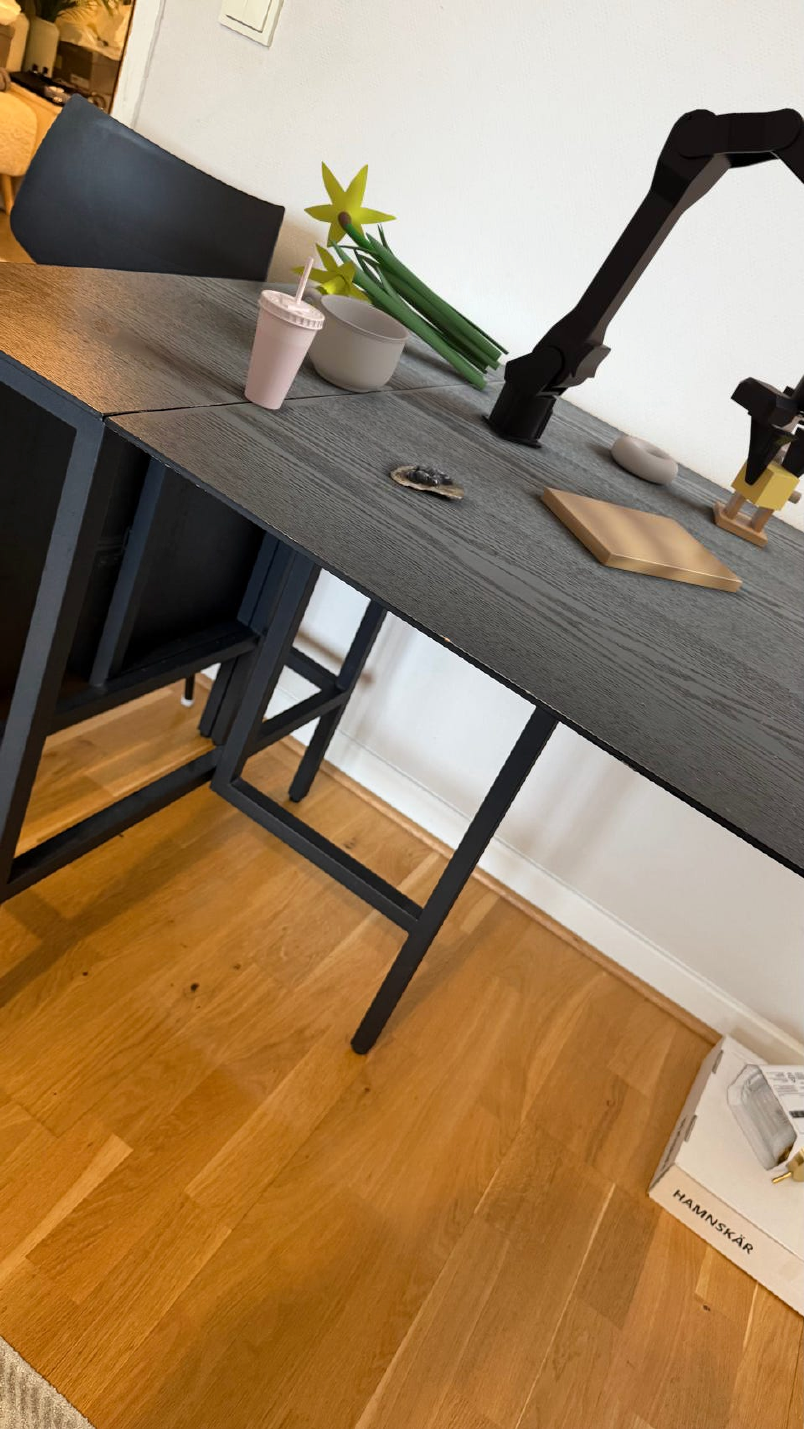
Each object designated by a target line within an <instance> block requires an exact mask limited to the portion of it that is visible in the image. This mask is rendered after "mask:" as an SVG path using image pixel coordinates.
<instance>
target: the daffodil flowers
mask: <svg viewBox="0 0 804 1429" xmlns="http://www.w3.org/2000/svg"><path fill="white" fill-rule="evenodd" d="M368 170H369V165H368V164H367V163H366V164H365V165H363V167H361V168H360V170H359V171H358V172H357V174H356V175H355V176H354V178H353V179H352V180H351V181H350V183H349V185H348V186H347V188H346V190H345V189H344V188H343V187H342V185H341V183H340V182H339V181H338V179H337V178H336V177H335V175H334V174H333V172H332V171H331V170H330V168H329V167H328V166H327V165H326V163H325V162H324V161H321V177H322V180H323V185H324V188H325V191H326V193H327V196H328V197H329V199H330V202H331V203H328V204H326V203H325V204H319V205H314V206H309V207H306V208H303V211H304V212H305V213H307V215H309V216H310V217H311V218H313V219H315V220H317V221H319V222H322V223H329V224H330V226H329V229H328V235H327V240H326V248H327V249H330V248H334V251H335V253H336V255H337V256H338V257H339V259H340V260H341V261H342V264H340V265H338V263H337V262H336V260H335V258H334V256H333V255H332V254H331V253H330V251H328V250H327V249H326V248H324V247H323V246H321V245H320V244H318V243H317V242H315V243H314V244H315V248H316V251H317V253H318V256H319V257H320V260H321V262H322V264H323V267H324V269H325V270H323V269H319V268H316V267H311V270H310V273H309V276H308V279H309V280H311V281H313V282H316V283H318V284H320V285H317V286H315V288H314V289H316V290H317V291H319V292H320V293H321V295H322V296H323V295H329V294H331V295H340V296H345V297H349V298H350V297H351V298H353V299H356V300H359V301H362V302H367V304H369V305H370V306H372V307H374V308H376V309H379V310H381V311H382V312H384V313H386V314H388V315H389V316H391V317H392V318H394V319H395V320H397V321H398V322H399V323H401V324H402V325H403V326H404V327H405V328H406V329H407V330H409V331H411V332H412V333H413V334H415V336H417V337H418V338H419V339H420V340H422V341H423V342H424V343H425V344H426V345H427V346H429V347H430V348H431V349H432V350H433V351H435V352H436V353H437V354H438V355H439V356H440V357H442V358H443V359H444V360H445V361H446V362H447V363H449V364H450V365H451V366H452V367H453V368H455V370H457V371H458V372H459V373H460V374H461V375H462V376H463V377H464V378H466V379H467V380H468V381H469V382H470V383H472V384H473V385H474V386H475V387H476V388H478V389H479V391H480V392H483V390H484V389H485V387H486V386H487V384H488V382H487V381H486V380H484V376H483V375H487V374H488V372H489V371H488V370H487V368H488V367H490V368H491V369H492V370H494V372H495V371H497V370H498V368H499V367H500V365H501V363H500V362H499V359H500V358H501V356H502V355H503V354H504V355H505V356H507V355H509V354H510V351H508V350H507V349H506V348H505V347H504V346H502V345H501V344H500V343H499V342H498V341H496V340H495V339H494V338H492V337H491V336H490V335H489V334H488V333H486V332H485V331H484V330H483V329H481V328H480V327H479V325H477V324H475V323H474V322H473V321H471V320H470V319H469V318H467V317H466V316H465V315H464V314H462V312H460V311H459V310H458V309H456V308H455V307H454V306H452V305H451V304H449V303H448V302H447V301H446V300H445V299H443V298H442V297H440V296H439V295H438V294H437V293H436V292H434V291H433V290H432V289H431V288H430V287H429V286H427V284H425V282H423V281H422V280H421V279H420V278H419V277H418V276H417V275H416V274H415V273H414V272H412V271H411V270H410V269H409V268H408V267H407V266H406V265H405V264H404V263H403V262H402V261H401V260H399V259H398V258H397V257H396V255H395V254H394V252H393V251H392V249H391V248H390V246H389V244H388V242H387V240H386V236H385V233H384V232H385V231H384V229H383V226H382V223H386V222H391V221H396V220H397V217H396V216H394V215H393V214H387V213H384V212H381V211H379V210H375V209H371V208H368V207H366V206H365V207H363V206H362V204H363V201H364V197H365V191H366V186H367V180H368ZM371 224H376V225H377V229H378V230H377V231H378V233H379V234H378V235H379V238H380V241H381V242H380V241H379V240H377V239H376V238H375V237H374V236H372V235H371V234H370V233H368V232H364V229H363V226H362V225H371ZM379 224H380V225H379ZM346 235H347V237H349V238H350V239H351V241H353V243H355V244H356V246H354V245H346V244H342V245H341V244H340V245H339V243H341V241H342V240H343V239H344V238H345V237H346ZM366 237H367V238H366ZM343 249H349V250H352V251H353V253H354V256H355V258H356V261H357V262H358V264H357V263H355V262H354V260H352V258H351V257H350V256H349V255H348V254H347V252H345V251H344V250H343ZM358 251H359V252H363V253H364V254H366V255H369V256H370V257H371V258H370V257H368V256H366V255H364V254H361V253H359V252H358ZM369 266H370V267H371V268H373V270H374V271H375V273H376V274H377V276H378V277H379V278H378V277H377V276H376V275H375V273H374V272H373V270H371V268H370V267H369ZM289 269H290V271H292V272H293V273H295V274H297V275H299V276H300V277H302V275H303V272H304V269H305V266H302V265H301V266H296V267H291V268H289ZM308 279H307V280H308ZM311 306H313V307H314V308H316V306H315V302H314V300H313V301H312V305H311ZM410 306H411V307H410ZM412 308H413V309H412ZM418 313H419V314H420V315H419V314H418ZM479 371H480V372H481V373H482V374H483V375H482V374H481V373H480V372H479Z"/></svg>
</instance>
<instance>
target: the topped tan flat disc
mask: <svg viewBox="0 0 804 1429" xmlns="http://www.w3.org/2000/svg"><path fill="white" fill-rule="evenodd" d="M390 477H391V478H392V479H393V480H394V481H396V483H398V484H401V485H403V486H407V487H408V486H410V487H411V488H413V489H417V490H419V491H421V490H422V491H425V490H427V491H432V492H435V493H437V494H440V495H444V496H446V497H447V498H448V499H449V498H450V499H451V500H455V501H461V500H462V499H463V498H464V494H465V493H466V490H465V488H464V487H461V486H462V485H460V484H459V482H456V481H454V478H453V476H451V475H449V474H446V473H445V472H443V471H442V470H440V469H436V467H435V466H434V465H428V466H426V464H417V465H405V466H404V465H401V466H397V467H396V469H394V470H393V471H390Z"/></svg>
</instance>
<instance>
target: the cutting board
mask: <svg viewBox="0 0 804 1429" xmlns="http://www.w3.org/2000/svg"><path fill="white" fill-rule="evenodd" d="M540 500H541V501H542V502H543V503H544V504H545V505H546V507H548V508H549V509H550V511H551V512H552V513H553V514H554V515H555V516H556V517H557V518H558V519H559V520H560V522H562V523H563V524H564V526H566V528H567V529H569V530H570V532H571V533H572V534H573V535H574V536H575V537H576V538H577V539H578V540H579V541H580V542H581V543H582V544H583V545H584V546H585V548H586V549H588V551H589V552H590V553H591V554H592V555H593V556H594V557H595V558H596V559H597V560H598V562H600V563H601V565H602V566H603V567H604V566H605V567H608V568H615V569H619V570H624V571H628V572H634V573H638V574H643V575H647V576H651V577H656V578H657V577H658V578H661V579H667V580H671V581H677V582H680V583H686V584H691V585H696V586H700V587H705V588H710V589H713V590H714V589H715V590H718V591H719V590H720V591H725V592H730V593H734V594H736V593H737V592H738V590H739V589H740V587H741V585H742V584H743V581H742V579H740V578H739V577H738V576H737V575H736V574H735V573H734V572H732V571H731V570H730V569H729V568H728V567H727V566H726V565H725V564H724V563H722V562H721V561H720V560H719V559H718V558H717V556H715V555H713V554H712V553H711V552H710V551H709V550H708V549H707V548H705V546H703V544H702V543H700V542H699V541H698V540H697V539H696V538H695V537H694V536H692V535H691V534H690V533H689V532H688V531H687V530H686V529H684V527H682V526H681V525H680V524H679V523H678V522H677V521H676V520H674V519H673V518H669V517H666V516H662V515H659V514H658V515H657V514H653V513H650V512H645V511H643V510H642V511H641V510H638V509H634V508H631V507H626V506H623V505H619V504H615V503H610V502H607V501H603V500H599V499H595V498H592V497H586V496H583V495H579V494H575V493H571V492H569V491H564V490H560V489H555V488H551V487H548V486H546V487H545V488H544V490H543V492H542V494H541V496H540Z"/></svg>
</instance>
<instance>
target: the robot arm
mask: <svg viewBox="0 0 804 1429" xmlns="http://www.w3.org/2000/svg"><path fill="white" fill-rule="evenodd" d="M777 160H778V161H779V160H780V161H781V162H782V163H783V164H784V165H785V166H786V167H787V168H788V169H789V170H790V172H791V173H793V175H794V176H795V177H796V178H797V179H798V180H799V181H800V183H801V184H803V185H804V117H803V115H802V114H801V113H800V112H799V111H797V110H796V109H794V108H788V107H785V108H781V109H777V110H769V111H752V112H750V111H749V112H748V111H747V112H727V113H720V114H716V113H715V112H714V111H711V110H708V109H706V108H696V109H694V110H690V111H688V112H685V113H683V114H682V115H681V116H679V117H678V118H677V120H676V121H675V122H674V124H673V125H672V127H671V129H670V131H669V133H668V135H667V138H666V140H665V142H664V144H663V147H662V149H661V150H660V153H659V156H658V158H657V160H656V164H655V168H654V172H653V176H652V179H651V183H650V187H649V189H648V191H647V194H646V195H645V197H644V199H643V200H642V201H641V203H640V204H639V206H638V208H637V209H636V211H635V212H634V214H633V216H632V217H631V219H630V220H629V222H628V223H627V224H626V226H625V228H624V230H623V231H622V233H621V234H620V236H619V237H618V239H617V241H616V242H615V244H614V246H613V247H612V248H611V250H610V251H609V253H608V255H607V257H606V258H605V260H604V261H603V262H602V264H601V266H599V269H598V270H597V272H596V274H595V275H594V277H593V278H592V280H591V281H590V283H589V284H588V286H587V288H586V289H585V290H584V293H583V294H582V295H581V297H580V298H579V300H578V302H577V303H576V305H575V306H574V307H573V308H572V309H571V310H570V311H569V312H568V313H567V314H565V315H564V316H562V317H561V318H560V319H559V320H558V321H557V322H556V323H554V324H553V325H552V326H551V327H550V328H549V329H548V330H547V332H546V333H545V334H544V335H543V336H542V338H541V339H540V340H538V342H537V343H536V344H535V345H534V347H533V348H532V350H531V352H529V353H526V354H523V355H520V356H518V357H516V358H513V359H510V360H507V362H505V366H504V374H503V380H504V381H505V382H504V384H503V386H502V388H501V390H500V393H499V394H498V397H497V398H496V402H495V404H494V405H493V408H492V410H491V412H490V414H487V413H482V415H481V418H482V419H483V420H484V421H485V422H486V424H488V426H490V427H491V428H492V429H493V430H494V432H496V434H497V435H499V436H500V437H501V438H502V439H505V440H508V441H512V442H515V443H518V444H523V445H525V446H529V447H532V448H533V447H534V448H537V449H542V448H543V444H542V443H541V442H540V441H539V440H540V439H541V437H542V435H543V433H544V432H545V430H546V428H547V425H548V423H549V421H550V420H551V417H552V416H553V414H554V409H553V408H554V407H555V405H556V403H557V401H558V399H557V398H556V397H561V396H563V394H565V392H567V391H568V389H569V388H573V387H578V386H580V385H582V384H584V383H585V381H587V379H595V377H596V374H597V370H598V368H599V367H600V365H601V363H602V362H603V361H604V360H605V359H606V358H607V357H608V356H609V355H610V353H611V351H612V348H611V347H609V346H608V345H606V344H604V340H605V336H606V334H607V329H608V327H609V325H610V323H611V322H612V320H613V319H614V317H615V316H616V314H617V313H618V312H619V310H620V308H621V307H622V305H623V304H624V302H625V301H626V300H627V298H628V296H629V295H630V293H631V292H632V290H633V288H634V287H635V286H636V284H637V283H638V281H639V280H640V278H641V277H642V275H643V274H644V272H645V270H646V269H647V268H648V266H649V265H650V263H651V261H653V259H654V257H655V256H656V254H657V253H658V251H659V250H660V248H661V247H662V246H663V245H664V242H665V241H666V239H667V238H668V236H669V235H670V233H671V232H672V230H673V228H674V227H675V226H676V224H677V223H678V221H679V219H680V218H681V217H682V215H684V213H686V211H687V210H688V209H690V208H691V207H692V206H694V205H695V204H696V203H697V202H698V201H700V200H701V199H702V198H703V197H704V196H705V195H707V194H708V193H709V192H710V191H711V189H713V187H714V186H715V185H716V184H717V183H718V182H719V181H720V179H721V178H722V177H723V176H724V175H725V174H726V173H727V172H728V171H729V170H731V169H732V170H733V169H742V168H748V167H752V166H755V165H759V164H763V163H767V162H770V161H771V162H772V161H777ZM555 396H556V397H555ZM730 400H732V401H733V402H734V403H736V404H738V405H739V406H740V407H742V408H743V409H745V410H746V411H747V413H746V414H747V416H750V430H749V444H748V453H747V458H748V459H747V458H746V460H747V466H746V474H745V482H746V483H747V484H748V485H751V486H752V485H753V484H754V483H755V482H756V481H757V480H758V478H759V477H760V476H761V475H762V473H763V472H764V471H765V469H766V468H767V467H768V465H769V464H770V462H771V461H772V460H773V458H774V457H775V456H776V454H777V453H778V451H779V450H780V448H781V447H782V446H784V445H786V444H788V443H790V445H789V447H788V450H787V452H786V454H785V457H784V459H783V461H782V464H781V466H782V467H783V468H785V469H786V470H787V471H789V472H790V473H791V474H793V475H794V476H796V477H797V478H798V479H800V478H801V477H802V476H803V475H804V374H803V375H802V376H801V378H800V379H799V381H798V383H797V384H796V386H795V387H791V386H789V385H786V386H785V388H784V389H783V391H781V390H780V389H778V388H776V387H775V386H774V385H772V384H769V383H767V382H765V381H762V380H760V379H757V378H754V377H752V376H749V377H747V378H744V379H742V380H740V381H739V382H738V384H737V386H736V387H735V389H734V390H733V392H732V394H731V395H730ZM797 425H799V426H797ZM800 426H803V427H800ZM795 427H796V429H795ZM794 430H795V431H794ZM793 431H794V433H793Z"/></svg>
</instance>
